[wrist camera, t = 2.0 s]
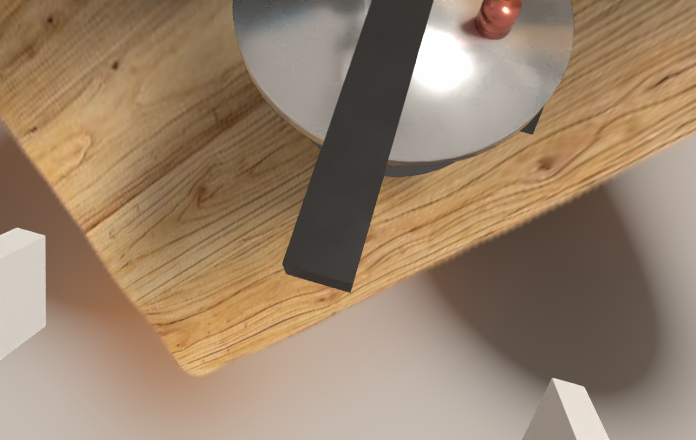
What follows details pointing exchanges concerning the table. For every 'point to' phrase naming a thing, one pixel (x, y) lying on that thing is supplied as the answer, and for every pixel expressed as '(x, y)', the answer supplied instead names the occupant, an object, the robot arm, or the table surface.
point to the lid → (394, 96)
